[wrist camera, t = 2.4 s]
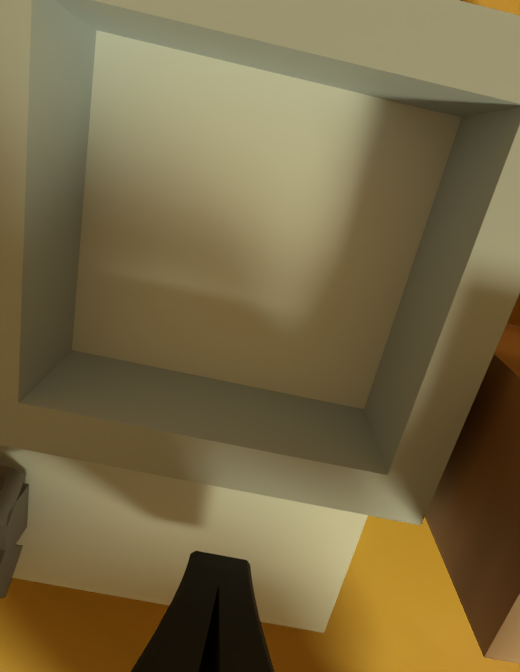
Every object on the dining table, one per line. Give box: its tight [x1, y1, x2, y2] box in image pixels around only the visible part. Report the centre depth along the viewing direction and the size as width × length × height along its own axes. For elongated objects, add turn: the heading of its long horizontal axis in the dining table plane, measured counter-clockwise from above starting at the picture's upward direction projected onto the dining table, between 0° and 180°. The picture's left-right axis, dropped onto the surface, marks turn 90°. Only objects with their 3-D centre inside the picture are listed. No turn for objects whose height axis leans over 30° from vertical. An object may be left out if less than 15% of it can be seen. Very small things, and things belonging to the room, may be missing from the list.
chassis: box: [0, 0, 520, 633], centre depth 10 cm, size 15×17×5 cm
